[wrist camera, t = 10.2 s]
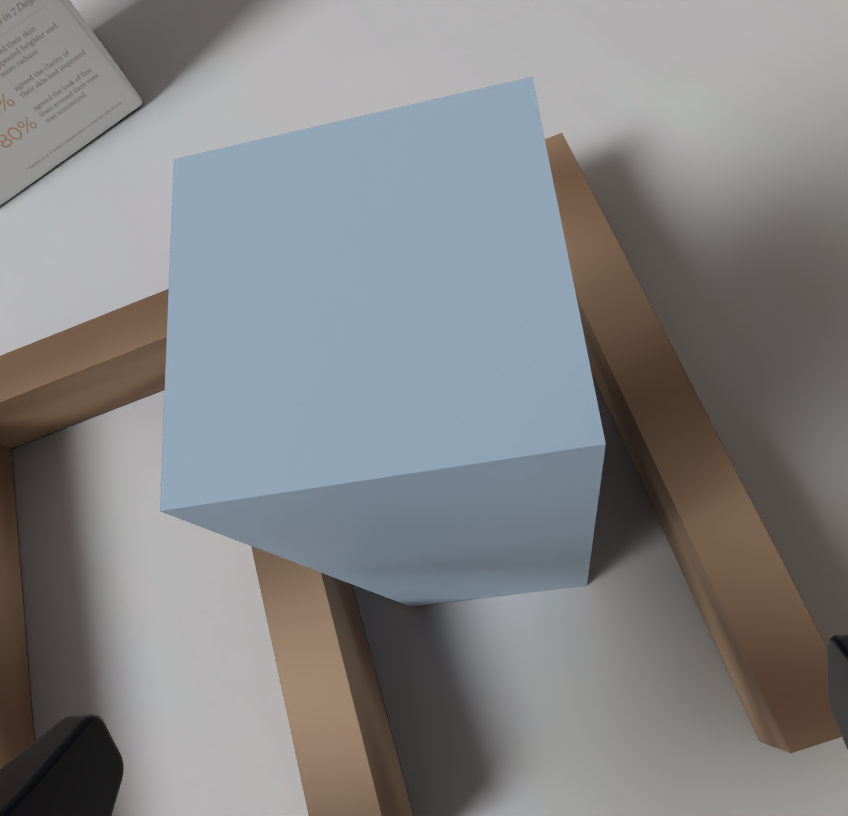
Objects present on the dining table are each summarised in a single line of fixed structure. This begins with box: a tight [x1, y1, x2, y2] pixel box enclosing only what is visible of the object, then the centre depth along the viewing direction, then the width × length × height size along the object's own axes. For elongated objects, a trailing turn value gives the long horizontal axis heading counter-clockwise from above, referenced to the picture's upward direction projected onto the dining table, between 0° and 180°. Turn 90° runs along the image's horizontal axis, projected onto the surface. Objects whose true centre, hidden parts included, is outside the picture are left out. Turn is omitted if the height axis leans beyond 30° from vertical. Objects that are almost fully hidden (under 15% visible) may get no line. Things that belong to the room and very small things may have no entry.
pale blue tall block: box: [160, 77, 606, 607], centre depth 13 cm, size 4×4×12 cm
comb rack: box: [0, 133, 842, 816], centre depth 18 cm, size 16×20×2 cm
